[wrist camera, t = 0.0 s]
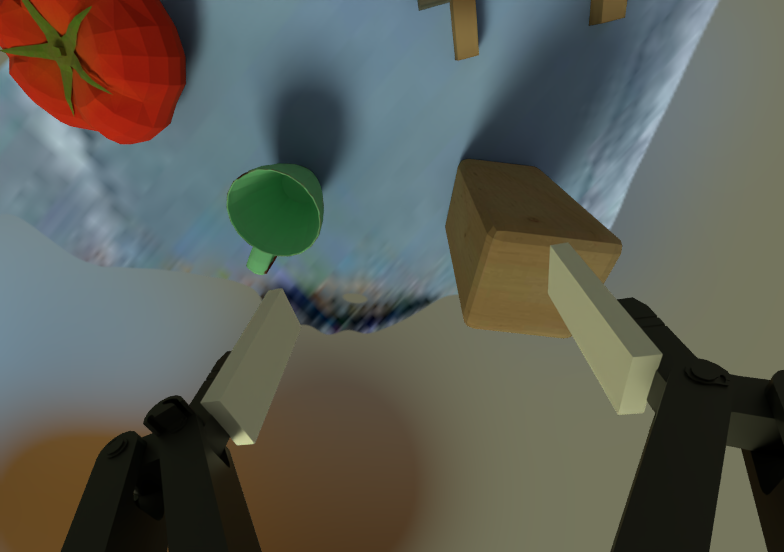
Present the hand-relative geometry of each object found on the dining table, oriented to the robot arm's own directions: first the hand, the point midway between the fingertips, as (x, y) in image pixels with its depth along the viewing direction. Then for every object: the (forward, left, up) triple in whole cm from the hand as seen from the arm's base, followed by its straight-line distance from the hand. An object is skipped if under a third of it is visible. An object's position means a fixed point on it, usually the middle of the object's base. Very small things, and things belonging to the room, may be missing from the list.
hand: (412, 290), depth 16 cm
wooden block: (+8, +9, -28) cm, 31 cm away
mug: (+3, -16, -28) cm, 33 cm away
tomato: (-16, -27, -28) cm, 43 cm away
